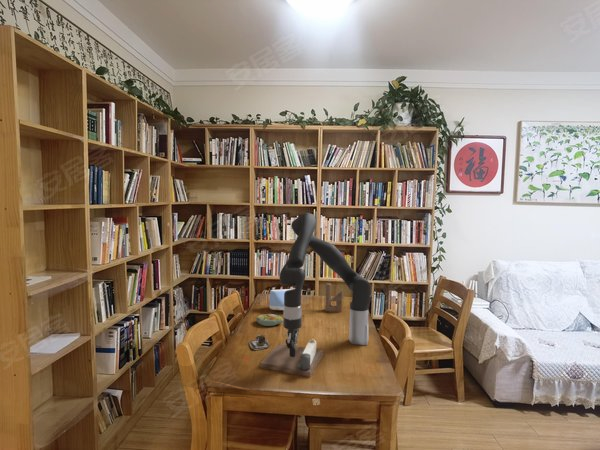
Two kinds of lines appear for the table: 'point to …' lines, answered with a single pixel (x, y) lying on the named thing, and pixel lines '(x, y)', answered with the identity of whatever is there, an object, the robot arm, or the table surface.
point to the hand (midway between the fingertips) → (292, 356)
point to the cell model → (269, 319)
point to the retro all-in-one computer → (277, 299)
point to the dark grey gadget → (259, 343)
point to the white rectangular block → (308, 355)
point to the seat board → (289, 360)
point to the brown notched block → (336, 298)
